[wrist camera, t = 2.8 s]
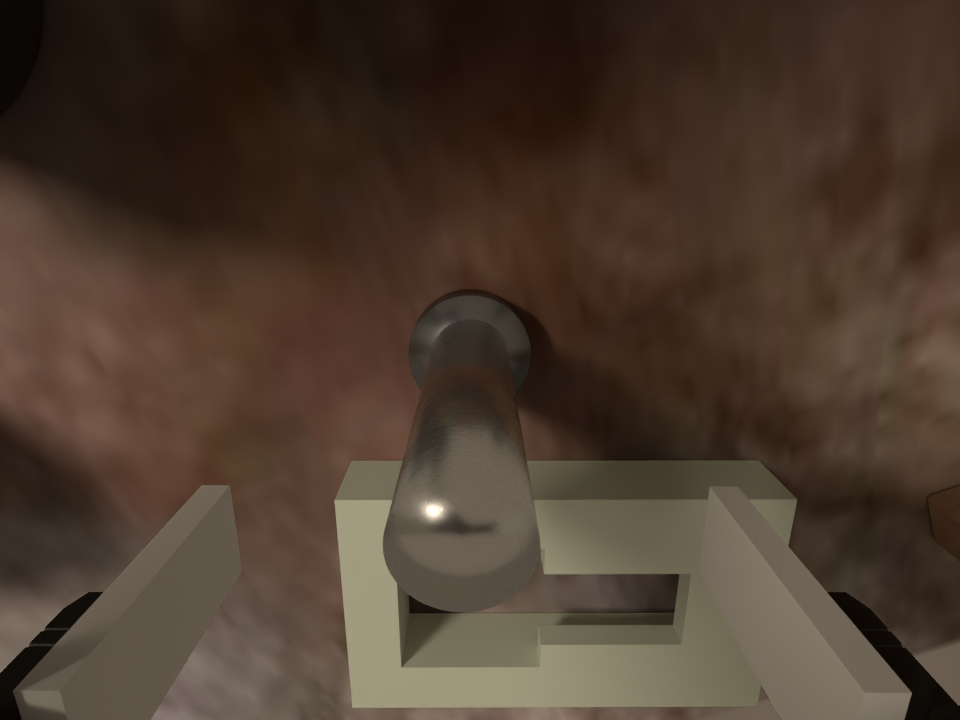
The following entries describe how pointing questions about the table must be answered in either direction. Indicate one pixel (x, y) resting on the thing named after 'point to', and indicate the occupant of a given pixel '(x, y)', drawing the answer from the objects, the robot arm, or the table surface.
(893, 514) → the table surface
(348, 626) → the keyhole plate
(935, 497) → the brown multi-part fixture
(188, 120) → the table surface
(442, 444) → the headed peg
